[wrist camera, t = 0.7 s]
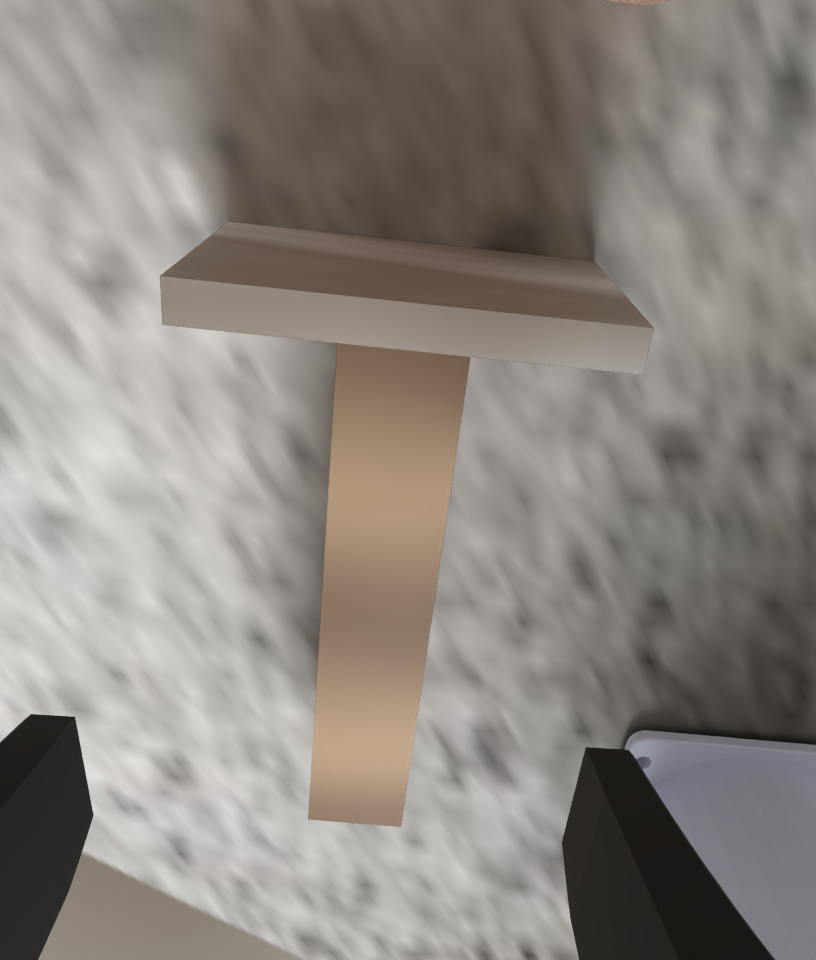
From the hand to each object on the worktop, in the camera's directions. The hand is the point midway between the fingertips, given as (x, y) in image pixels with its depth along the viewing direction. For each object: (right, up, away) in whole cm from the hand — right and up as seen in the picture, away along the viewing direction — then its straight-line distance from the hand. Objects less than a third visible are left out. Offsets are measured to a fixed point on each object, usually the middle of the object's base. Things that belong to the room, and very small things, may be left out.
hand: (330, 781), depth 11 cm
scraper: (+1, +4, +9) cm, 10 cm away
